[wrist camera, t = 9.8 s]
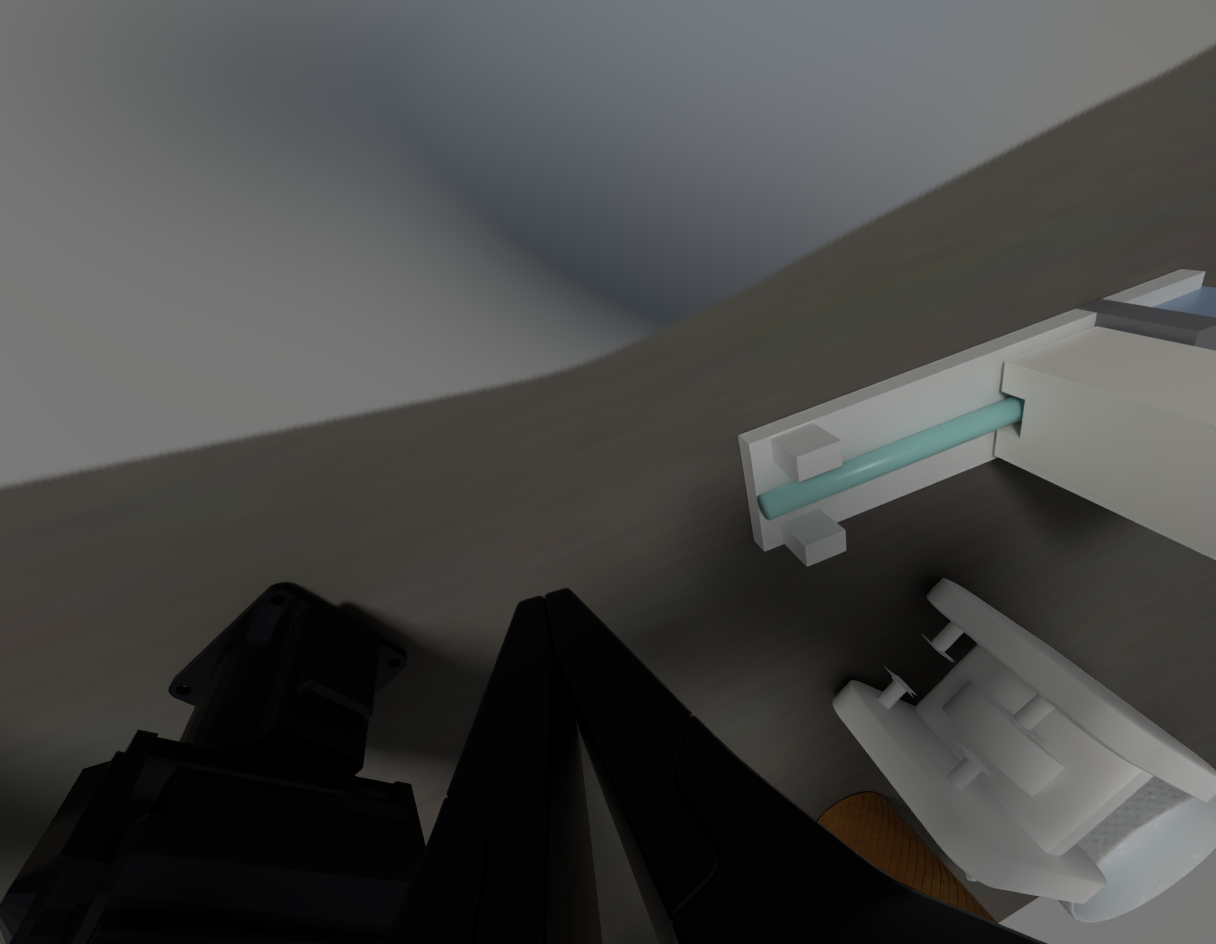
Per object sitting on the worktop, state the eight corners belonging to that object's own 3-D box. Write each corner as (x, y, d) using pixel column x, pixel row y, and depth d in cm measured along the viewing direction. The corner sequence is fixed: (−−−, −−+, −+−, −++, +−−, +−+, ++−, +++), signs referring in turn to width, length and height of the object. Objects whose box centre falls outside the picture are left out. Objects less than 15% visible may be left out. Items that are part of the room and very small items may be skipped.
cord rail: (754, 540, 28) (813, 605, 23) (738, 435, 25) (802, 487, 20) (1157, 379, 30) (1275, 410, 26) (1186, 267, 28) (1325, 281, 23)
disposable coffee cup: (923, 782, 43) (1076, 967, 33) (850, 862, 46) (971, 1056, 36) (843, 769, 39) (988, 975, 29) (768, 857, 42) (877, 1075, 32)
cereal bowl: (1185, 715, 52) (1285, 785, 46) (1079, 833, 58) (1155, 909, 52) (1070, 716, 46) (1168, 798, 39) (965, 849, 52) (1036, 938, 45)
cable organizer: (1037, 636, 39) (1247, 790, 29) (931, 741, 41) (1092, 917, 31) (925, 559, 32) (1149, 727, 22) (805, 690, 34) (959, 896, 24)
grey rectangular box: (994, 455, 28) (1314, 606, 18) (1005, 361, 25) (1383, 475, 15) (1078, 421, 28) (1434, 549, 18) (1097, 326, 26) (1520, 413, 16)
